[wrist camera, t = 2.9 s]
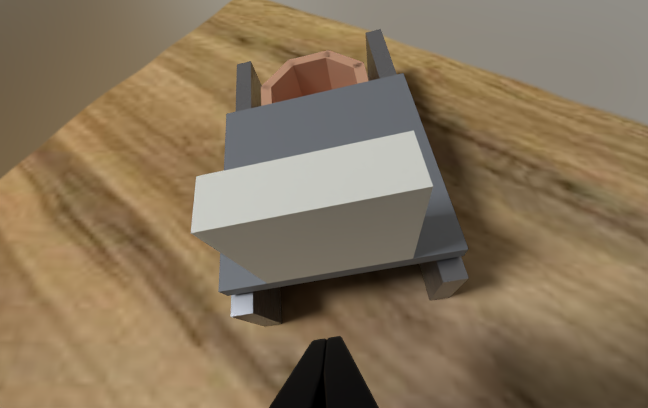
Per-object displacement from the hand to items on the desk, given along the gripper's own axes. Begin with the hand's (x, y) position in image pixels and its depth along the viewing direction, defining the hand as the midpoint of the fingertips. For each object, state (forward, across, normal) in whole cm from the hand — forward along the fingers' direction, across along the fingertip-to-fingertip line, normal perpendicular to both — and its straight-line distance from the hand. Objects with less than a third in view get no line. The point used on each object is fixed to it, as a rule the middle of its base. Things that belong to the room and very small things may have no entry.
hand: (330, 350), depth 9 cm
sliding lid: (+11, 0, -3) cm, 11 cm away
